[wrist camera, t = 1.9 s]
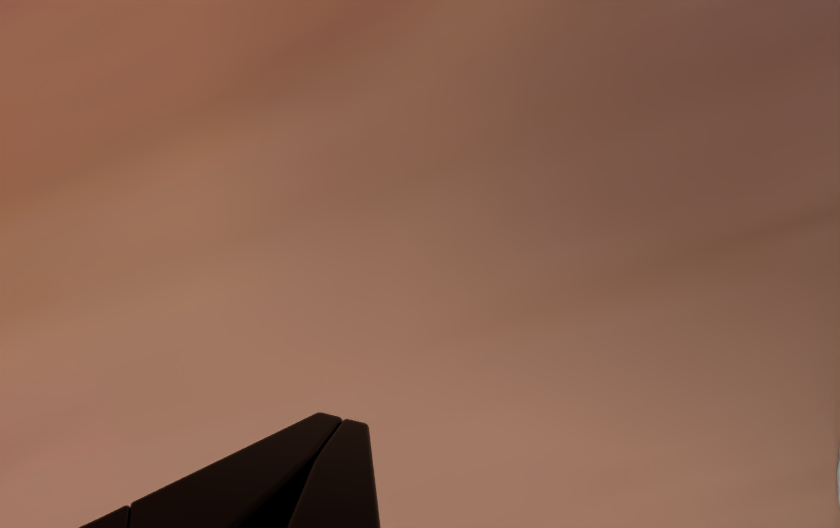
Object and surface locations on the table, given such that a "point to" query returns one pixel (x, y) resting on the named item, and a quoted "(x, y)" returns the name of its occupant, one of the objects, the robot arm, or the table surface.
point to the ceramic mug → (838, 476)
